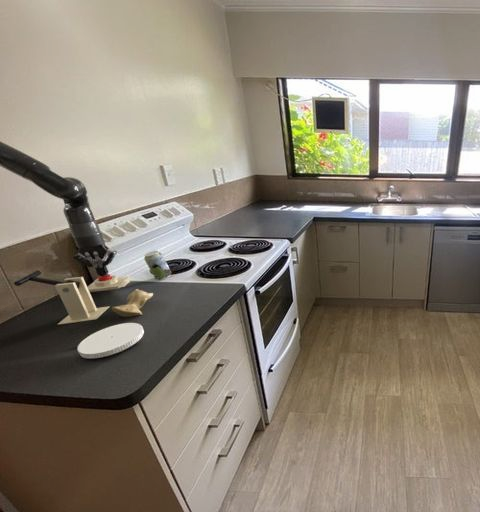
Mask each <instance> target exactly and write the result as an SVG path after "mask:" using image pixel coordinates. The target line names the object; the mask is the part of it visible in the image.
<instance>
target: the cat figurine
mask: <svg viewBox="0 0 480 512" xmlns="http://www.w3.org/2000/svg"><path fill="white" fill-rule="evenodd" d="M153 296H154V293H153V292H147V291H145V290H141V289H139V288H136V289H135V290H133V291H131V292H130V293H129V294H128V295H127V297H126V302H127V303H126V304H121V305H116V306H112V307H111V310H112V311H113V313H115V314H117V315H118V316H120V317H122V318H128V317H129V318H131V317H138V316H141V315H143V313H142V311H141V308H143V307H144V305H145V304H146V302H147V301H148V300H150V299H151V298H152V297H153Z"/></svg>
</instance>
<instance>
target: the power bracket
mask: <svg viewBox="0 0 480 512" xmlns="http://www.w3.org/2000/svg"><path fill="white" fill-rule="evenodd" d="M68 280H70V281H75V282H80V285H79V289H78V288H77V286H76V284H75V282H72V283H63V284H57V285H54V287H55V289H56V291H57V293H58V296H59V297H60V299H61V301H62V303H63V306H64V308H65V310H66V312H67V314H68V315H67V316H66V317H64V318H63V319H62V320H60V322H59V323H57V324H56V325H57V326H58V325H65V324H72V323H79V322H88V321H93V320H94V321H95V320H97V319H99V317H101V316H102V315H103V314H104V313H105V312H106V311H107V310H108V309H109V308H110V306H102V307H101V306H100V307H97V306H96V304H95V301H94V299H93V297H92V295H91V292H89V290H88V288H87V287H88V285H87V283H86V281H85V279H84V276H77V277H68V278H67V277H66V278H65V279H64V278H63V282H67V281H68Z"/></svg>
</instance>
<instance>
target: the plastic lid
mask: <svg viewBox="0 0 480 512" xmlns="http://www.w3.org/2000/svg"><path fill="white" fill-rule="evenodd" d="M144 334H145V330H144V328H143V326H142V324H140V323H137V322H124V323H119V324H115V325H111V326H107V327H104V328H102V329H100V330H98V331H96V332H94V333H91V334H90V335H89V336H87V337H86V338H84V339H83V340H81V342H80V343H79V344H78V345H77V352H78V354H79V356H80V357H82V358H84V359H100V358H104V357H109V356H112V355H115V354H118V353H120V352H123V351H125V350H127V349H129V348H130V347H132V346H134V345H135V344H136V343H138V342H139V341H140V340H141V339H142V338H143V336H144Z"/></svg>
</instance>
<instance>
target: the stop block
mask: <svg viewBox="0 0 480 512" xmlns="http://www.w3.org/2000/svg"><path fill="white" fill-rule="evenodd" d="M110 276H111V278H112V279H110V280H107V281H101V282H100V281H99V279H98V278H96V279H95V280H93V282H92V283H90V284H89V285H87V288H88V290H89V292H90V293H96V292H103V291H112V290H120V289H121V288H124V287H126V286H127V285H128V284H129V283H131V279H130V276H121V277H117V276H116V275H112V274H110Z"/></svg>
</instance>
